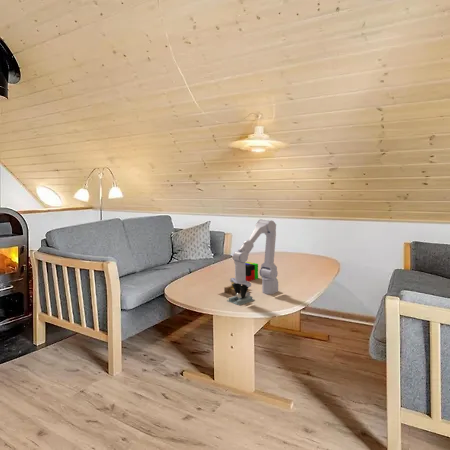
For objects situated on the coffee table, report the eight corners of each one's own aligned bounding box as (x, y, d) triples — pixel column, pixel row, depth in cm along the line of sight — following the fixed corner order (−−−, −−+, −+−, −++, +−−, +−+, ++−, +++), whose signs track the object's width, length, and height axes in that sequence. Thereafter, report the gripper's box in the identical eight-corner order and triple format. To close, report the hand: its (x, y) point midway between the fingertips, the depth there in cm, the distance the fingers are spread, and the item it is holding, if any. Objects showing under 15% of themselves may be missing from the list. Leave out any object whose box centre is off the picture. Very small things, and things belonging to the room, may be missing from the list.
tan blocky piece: (233, 291, 221) (233, 281, 220) (237, 292, 219) (237, 282, 218) (229, 292, 219) (229, 282, 218) (234, 293, 217) (233, 283, 216)
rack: (242, 297, 212) (242, 293, 212) (254, 301, 205) (254, 297, 205) (226, 302, 205) (226, 297, 204) (239, 306, 197) (239, 302, 197)
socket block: (241, 288, 230) (241, 282, 229) (252, 291, 223) (252, 285, 222) (217, 295, 216) (217, 288, 216) (227, 299, 210) (227, 292, 209)
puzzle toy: (237, 278, 252) (237, 264, 251) (247, 275, 259) (247, 261, 258) (247, 281, 245) (247, 266, 244) (258, 278, 252) (258, 263, 251)
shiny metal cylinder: (245, 296, 210) (246, 290, 209) (249, 298, 207) (250, 292, 207) (235, 298, 204) (235, 292, 204) (239, 300, 202) (240, 294, 201)
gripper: (226, 271, 205) (226, 295, 207) (244, 276, 195) (244, 301, 196) (235, 269, 210) (235, 292, 212) (253, 274, 199) (253, 298, 201)
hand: (240, 296), depth 204 cm, fingers closed on shiny metal cylinder, 3 cm apart
